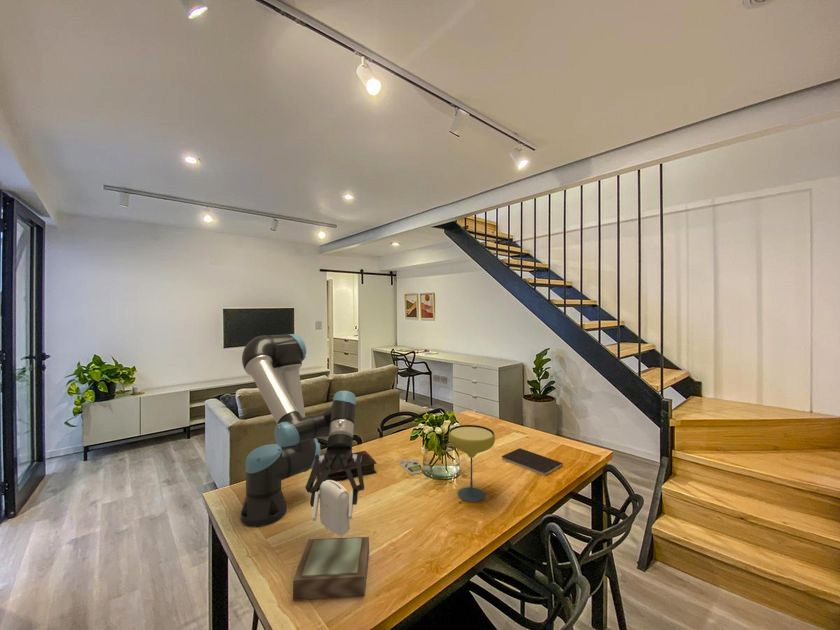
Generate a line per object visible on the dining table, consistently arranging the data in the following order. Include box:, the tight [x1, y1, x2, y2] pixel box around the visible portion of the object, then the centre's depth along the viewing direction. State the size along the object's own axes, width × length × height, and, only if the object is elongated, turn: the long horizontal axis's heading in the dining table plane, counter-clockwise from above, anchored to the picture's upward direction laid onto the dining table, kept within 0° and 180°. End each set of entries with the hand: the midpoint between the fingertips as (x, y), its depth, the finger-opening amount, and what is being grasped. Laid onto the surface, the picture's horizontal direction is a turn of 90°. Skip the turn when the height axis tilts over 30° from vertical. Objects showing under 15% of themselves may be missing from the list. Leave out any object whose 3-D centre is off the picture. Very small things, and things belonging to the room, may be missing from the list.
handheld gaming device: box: [397, 458, 423, 475], centre depth 166 cm, size 9×1×15 cm
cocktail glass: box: [448, 424, 496, 503], centre depth 141 cm, size 18×18×25 cm
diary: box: [316, 450, 377, 482], centre depth 162 cm, size 19×25×5 cm
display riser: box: [292, 536, 370, 601], centre depth 99 cm, size 18×16×5 cm
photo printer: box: [318, 480, 351, 537], centre depth 98 cm, size 10×4×12 cm, turn 47°
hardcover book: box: [501, 447, 563, 477], centre depth 170 cm, size 16×23×2 cm
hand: (332, 518), depth 95 cm, fingers closed on photo printer, 9 cm apart
